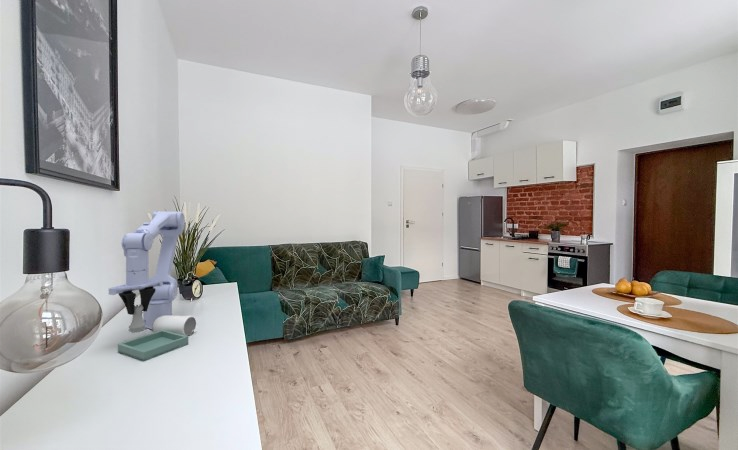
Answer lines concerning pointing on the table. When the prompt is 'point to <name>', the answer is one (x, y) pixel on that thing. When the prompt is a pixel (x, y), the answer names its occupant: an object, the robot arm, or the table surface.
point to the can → (175, 324)
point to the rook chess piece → (137, 320)
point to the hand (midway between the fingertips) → (137, 312)
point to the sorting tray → (152, 345)
